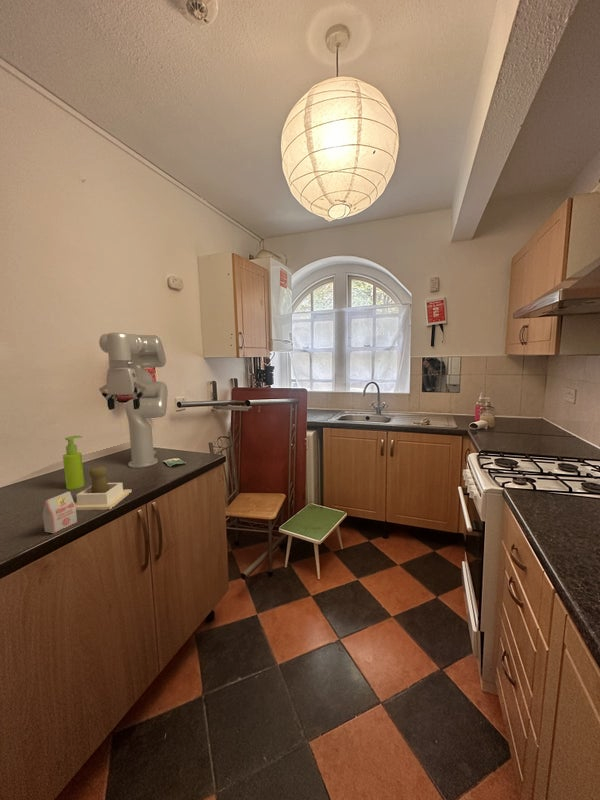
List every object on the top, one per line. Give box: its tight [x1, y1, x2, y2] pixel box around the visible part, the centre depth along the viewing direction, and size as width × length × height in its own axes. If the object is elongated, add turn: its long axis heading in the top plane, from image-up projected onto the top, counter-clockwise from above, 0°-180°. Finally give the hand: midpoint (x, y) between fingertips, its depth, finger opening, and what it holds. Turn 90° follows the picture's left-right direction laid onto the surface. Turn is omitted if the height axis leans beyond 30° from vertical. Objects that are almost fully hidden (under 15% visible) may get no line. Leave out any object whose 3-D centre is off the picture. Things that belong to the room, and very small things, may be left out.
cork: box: [89, 466, 109, 493], centre depth 110 cm, size 6×6×11 cm
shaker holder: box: [74, 482, 132, 511], centre depth 110 cm, size 14×14×4 cm
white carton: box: [42, 491, 78, 533], centre depth 92 cm, size 4×7×10 cm, turn 162°
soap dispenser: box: [62, 435, 85, 490], centre depth 123 cm, size 6×7×20 cm
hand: (124, 409), depth 123 cm, fingers open, 9 cm apart
